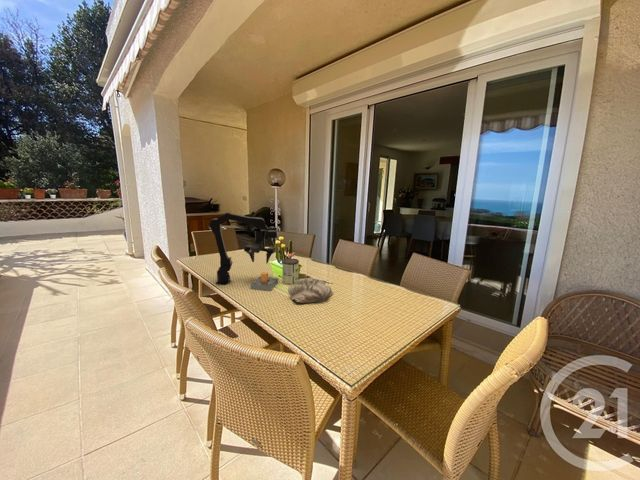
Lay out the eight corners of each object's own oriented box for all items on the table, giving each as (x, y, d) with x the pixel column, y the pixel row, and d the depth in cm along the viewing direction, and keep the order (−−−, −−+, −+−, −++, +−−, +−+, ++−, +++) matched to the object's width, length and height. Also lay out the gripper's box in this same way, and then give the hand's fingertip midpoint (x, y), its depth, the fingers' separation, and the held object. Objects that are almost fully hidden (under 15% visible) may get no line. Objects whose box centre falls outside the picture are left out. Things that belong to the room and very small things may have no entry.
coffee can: (284, 278, 167) (284, 257, 164) (299, 279, 166) (300, 258, 163) (280, 284, 157) (280, 262, 154) (296, 285, 156) (297, 263, 153)
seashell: (306, 307, 124) (298, 277, 126) (286, 311, 137) (279, 284, 139) (344, 293, 143) (337, 267, 145) (324, 298, 156) (317, 274, 158)
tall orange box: (261, 286, 152) (260, 273, 151) (263, 284, 155) (263, 271, 154) (266, 286, 152) (266, 274, 150) (268, 284, 155) (268, 272, 153)
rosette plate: (250, 288, 148) (250, 283, 147) (260, 280, 161) (260, 275, 161) (270, 291, 146) (270, 285, 145) (278, 282, 159) (278, 277, 159)
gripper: (239, 239, 149) (239, 265, 153) (269, 242, 146) (269, 268, 149) (248, 236, 160) (248, 260, 163) (276, 238, 157) (276, 262, 160)
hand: (260, 262), depth 159 cm, fingers open, 9 cm apart
